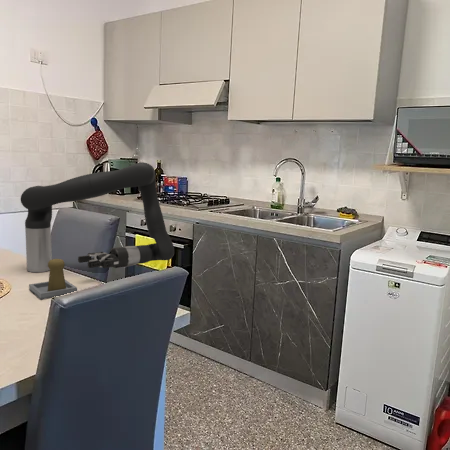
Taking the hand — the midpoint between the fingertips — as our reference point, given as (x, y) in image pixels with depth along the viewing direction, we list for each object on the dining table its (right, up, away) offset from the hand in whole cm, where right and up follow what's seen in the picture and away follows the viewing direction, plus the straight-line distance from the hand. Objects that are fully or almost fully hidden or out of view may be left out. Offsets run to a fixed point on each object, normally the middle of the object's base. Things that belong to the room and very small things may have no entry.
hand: (83, 262), depth 156 cm
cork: (-7, -9, -6) cm, 13 cm away
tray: (-9, -10, -5) cm, 14 cm away
